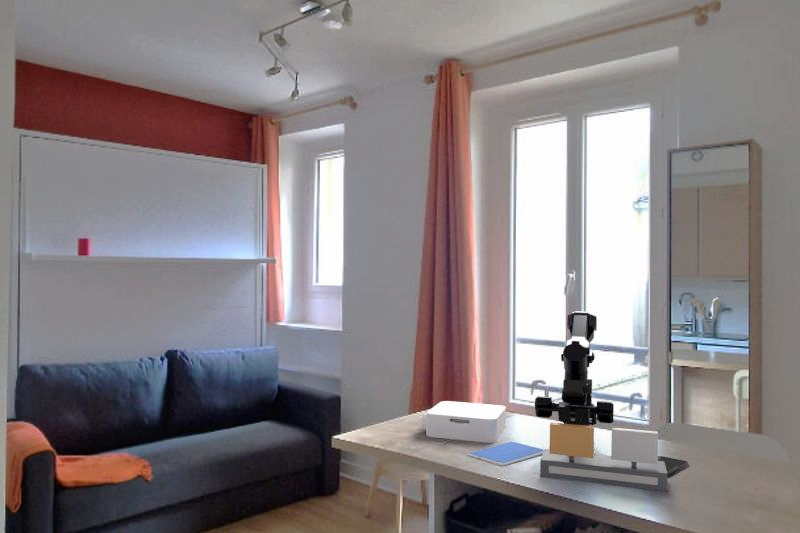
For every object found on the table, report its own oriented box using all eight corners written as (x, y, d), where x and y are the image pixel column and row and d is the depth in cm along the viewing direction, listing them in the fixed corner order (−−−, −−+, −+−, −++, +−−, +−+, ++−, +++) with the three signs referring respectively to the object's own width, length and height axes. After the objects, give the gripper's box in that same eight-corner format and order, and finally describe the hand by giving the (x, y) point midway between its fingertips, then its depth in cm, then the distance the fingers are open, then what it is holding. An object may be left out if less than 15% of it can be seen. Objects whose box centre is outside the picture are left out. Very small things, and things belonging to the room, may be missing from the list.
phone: (636, 467, 160) (659, 455, 171) (635, 472, 160) (659, 459, 171) (668, 474, 154) (690, 461, 165) (668, 479, 154) (690, 466, 165)
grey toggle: (611, 461, 152) (611, 427, 152) (656, 466, 148) (657, 431, 149) (611, 463, 150) (611, 429, 150) (657, 468, 147) (657, 433, 147)
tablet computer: (503, 468, 161) (503, 463, 161) (465, 457, 170) (465, 452, 170) (548, 455, 174) (548, 450, 174) (511, 445, 183) (511, 440, 183)
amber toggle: (550, 455, 156) (550, 422, 156) (593, 460, 152) (593, 426, 152) (549, 457, 154) (549, 424, 154) (593, 462, 150) (593, 428, 151)
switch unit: (544, 464, 163) (544, 448, 163) (663, 478, 154) (664, 460, 154) (539, 476, 153) (540, 459, 153) (667, 491, 144) (667, 473, 144)
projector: (437, 421, 210) (437, 400, 210) (506, 427, 203) (507, 405, 203) (419, 436, 190) (419, 413, 190) (495, 444, 183) (495, 419, 183)
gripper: (536, 364, 162) (529, 417, 152) (614, 369, 156) (613, 424, 146) (539, 390, 170) (533, 442, 159) (613, 395, 164) (612, 450, 153)
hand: (571, 439), depth 154 cm, fingers closed, pressing on amber toggle
